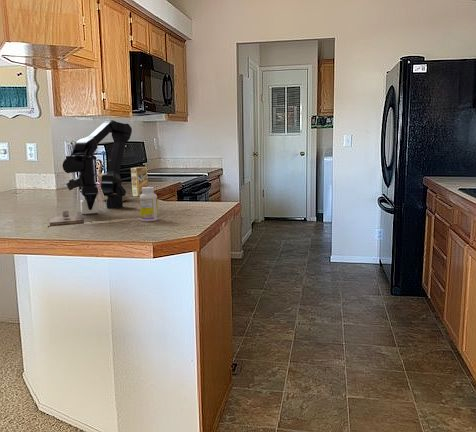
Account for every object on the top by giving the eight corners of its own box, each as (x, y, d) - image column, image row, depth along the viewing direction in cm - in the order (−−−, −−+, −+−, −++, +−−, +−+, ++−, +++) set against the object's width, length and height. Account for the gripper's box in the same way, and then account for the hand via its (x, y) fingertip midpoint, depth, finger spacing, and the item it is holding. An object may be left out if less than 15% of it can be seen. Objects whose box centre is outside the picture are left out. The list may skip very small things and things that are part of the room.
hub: (81, 218, 192) (80, 206, 192) (83, 223, 181) (82, 210, 181) (49, 221, 188) (48, 209, 187) (50, 226, 177) (48, 213, 176)
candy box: (138, 196, 258) (136, 168, 256) (132, 196, 261) (130, 168, 258) (148, 194, 266) (147, 166, 263) (142, 194, 268) (141, 166, 265)
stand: (100, 212, 207) (100, 202, 206) (103, 216, 198) (103, 205, 197) (76, 214, 203) (75, 204, 202) (78, 218, 194) (77, 207, 193)
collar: (96, 210, 204) (96, 198, 203) (98, 212, 198) (97, 200, 197) (81, 211, 202) (80, 200, 201) (82, 214, 196) (81, 201, 195)
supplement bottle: (150, 218, 190) (149, 186, 188) (161, 219, 186) (160, 187, 184) (137, 220, 185) (135, 187, 183) (148, 222, 181) (146, 188, 179)
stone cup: (97, 200, 246) (95, 171, 243) (119, 198, 252) (118, 170, 249) (105, 204, 233) (103, 173, 230) (129, 201, 239) (127, 171, 236)
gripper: (64, 170, 203) (67, 207, 205) (67, 173, 186) (70, 213, 188) (92, 169, 207) (94, 205, 209) (97, 172, 190) (99, 211, 192)
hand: (89, 208), depth 200 cm, fingers closed on collar, 6 cm apart
